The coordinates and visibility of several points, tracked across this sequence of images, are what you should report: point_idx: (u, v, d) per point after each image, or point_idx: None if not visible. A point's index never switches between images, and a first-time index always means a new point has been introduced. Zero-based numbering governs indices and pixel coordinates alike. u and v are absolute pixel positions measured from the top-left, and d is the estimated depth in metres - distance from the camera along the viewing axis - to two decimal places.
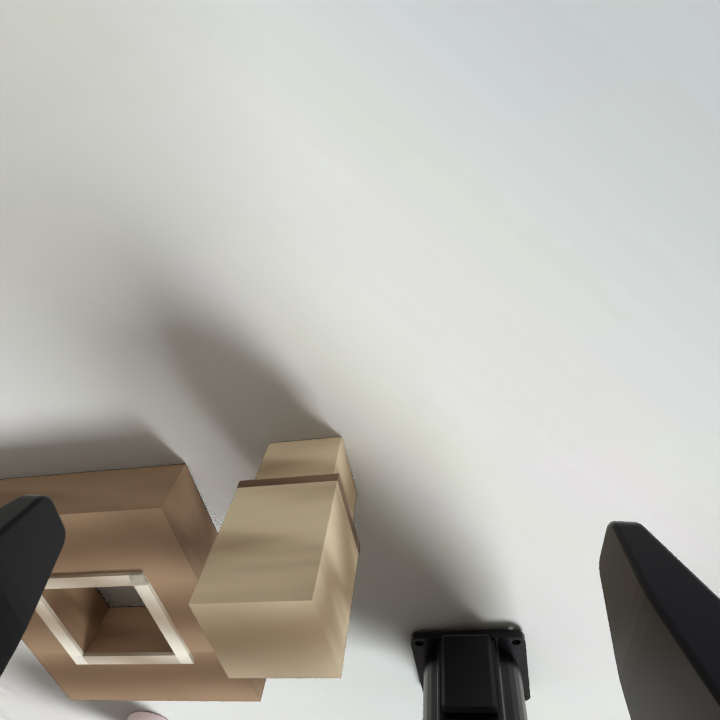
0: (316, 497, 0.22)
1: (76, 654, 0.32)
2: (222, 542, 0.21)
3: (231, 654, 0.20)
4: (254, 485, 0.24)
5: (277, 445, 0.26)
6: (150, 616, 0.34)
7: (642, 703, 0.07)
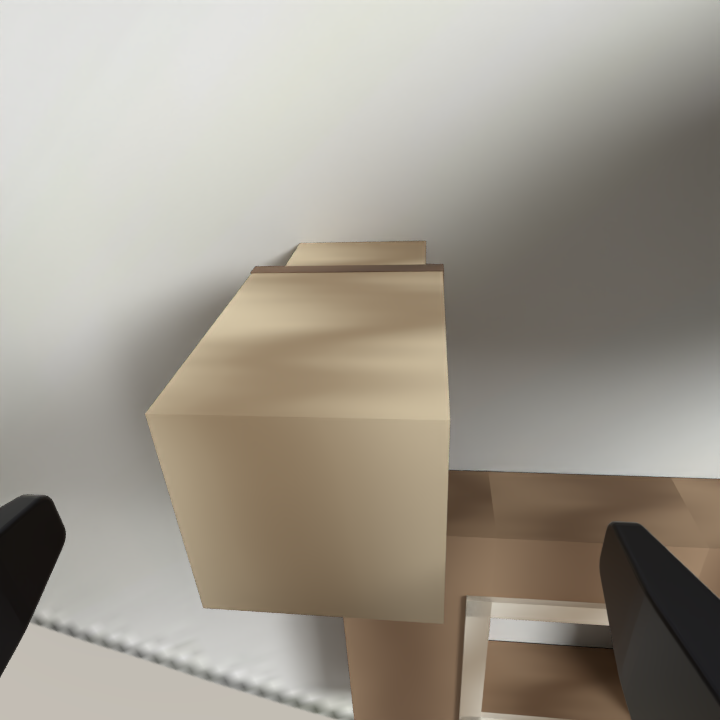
0: None
1: None
2: None
3: (356, 595, 0.10)
4: None
5: None
6: None
7: (642, 703, 0.07)
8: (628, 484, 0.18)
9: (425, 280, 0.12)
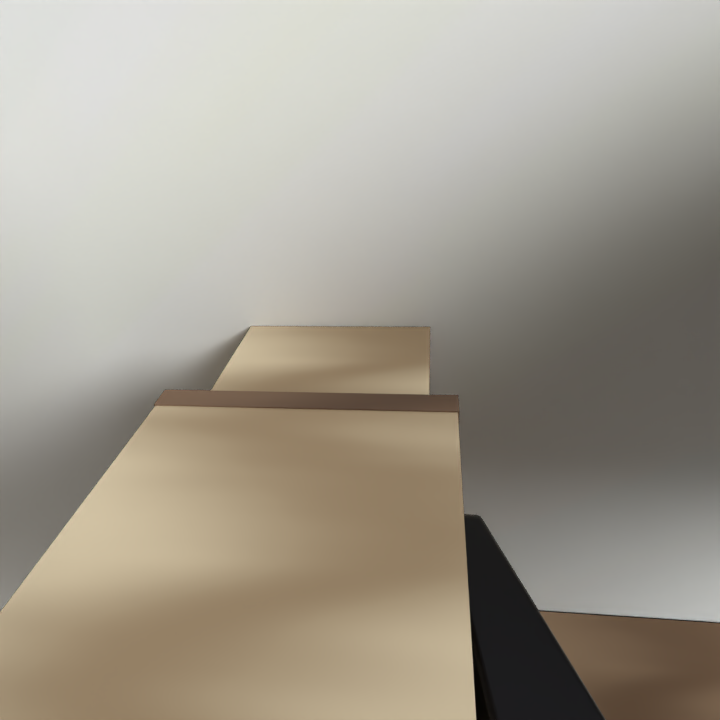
0: None
1: None
2: None
3: None
4: None
5: None
6: None
7: None
8: (701, 636, 0.14)
9: (429, 435, 0.07)
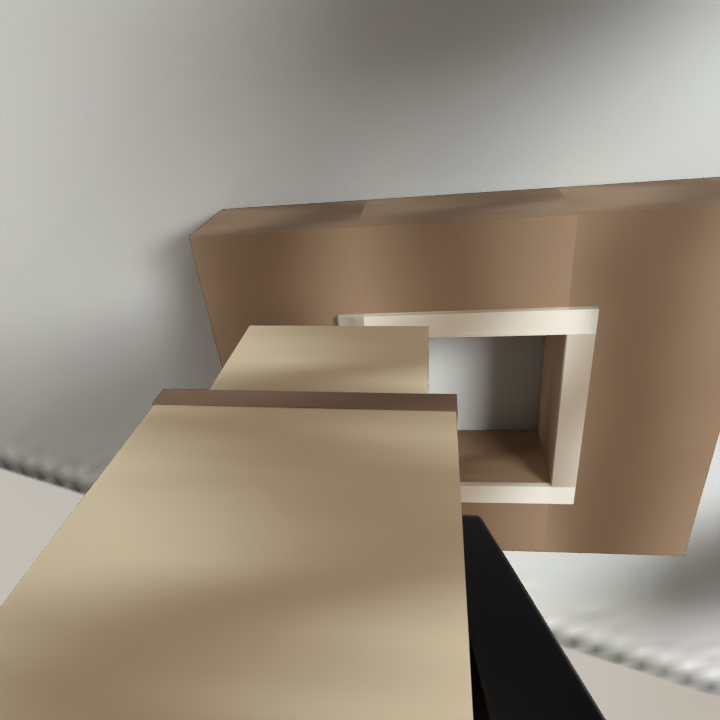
0: None
1: (545, 493, 0.20)
2: None
3: None
4: None
5: None
6: (546, 370, 0.20)
7: None
8: (510, 193, 0.17)
9: (427, 434, 0.07)
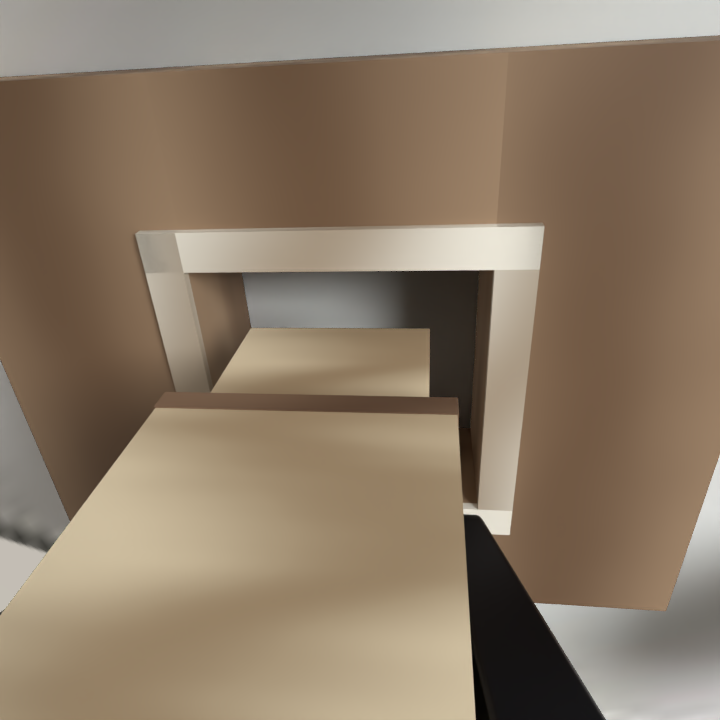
0: None
1: None
2: None
3: None
4: None
5: None
6: (477, 340, 0.14)
7: None
8: (417, 53, 0.11)
9: (429, 438, 0.07)
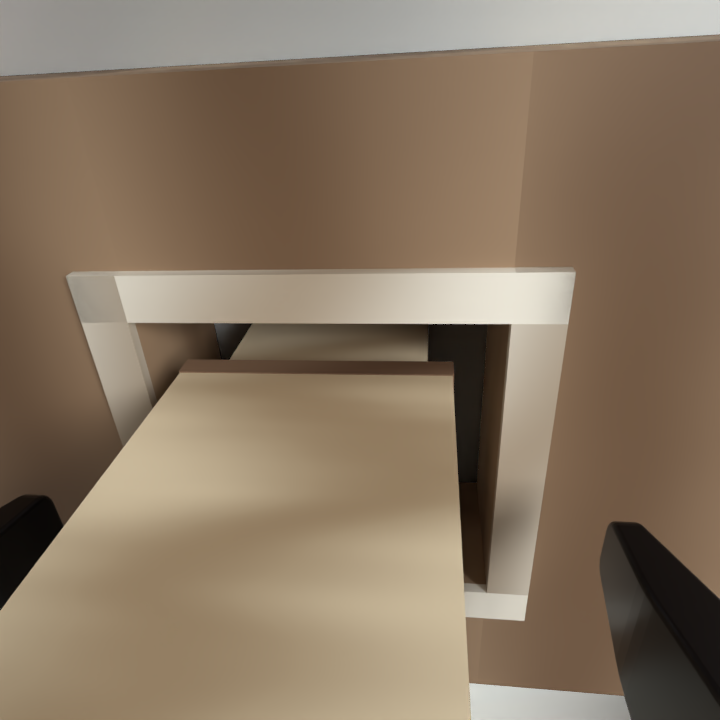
0: None
1: (476, 602, 0.11)
2: None
3: None
4: None
5: None
6: (486, 390, 0.12)
7: (642, 703, 0.07)
8: (415, 53, 0.09)
9: (427, 394, 0.08)
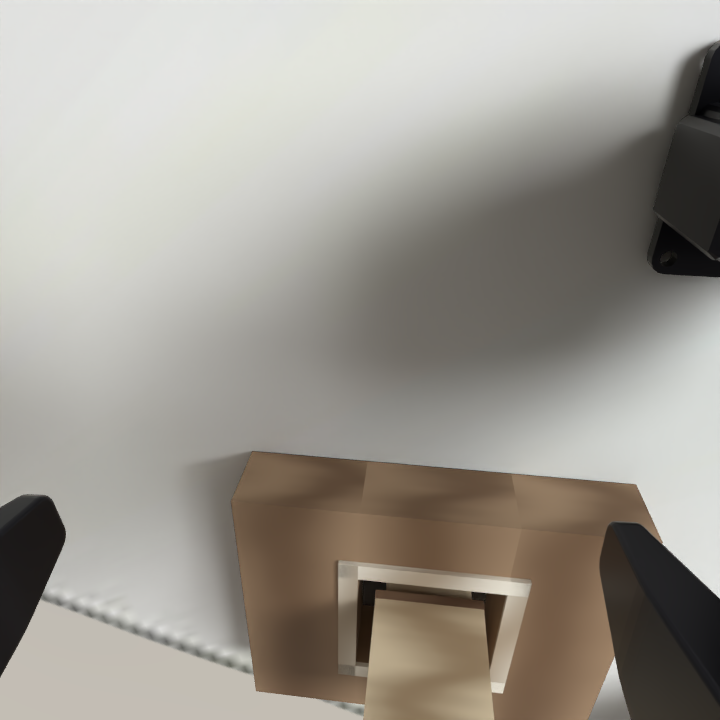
0: None
1: None
2: None
3: None
4: None
5: None
6: None
7: (642, 703, 0.07)
8: (476, 477, 0.23)
9: (475, 620, 0.22)
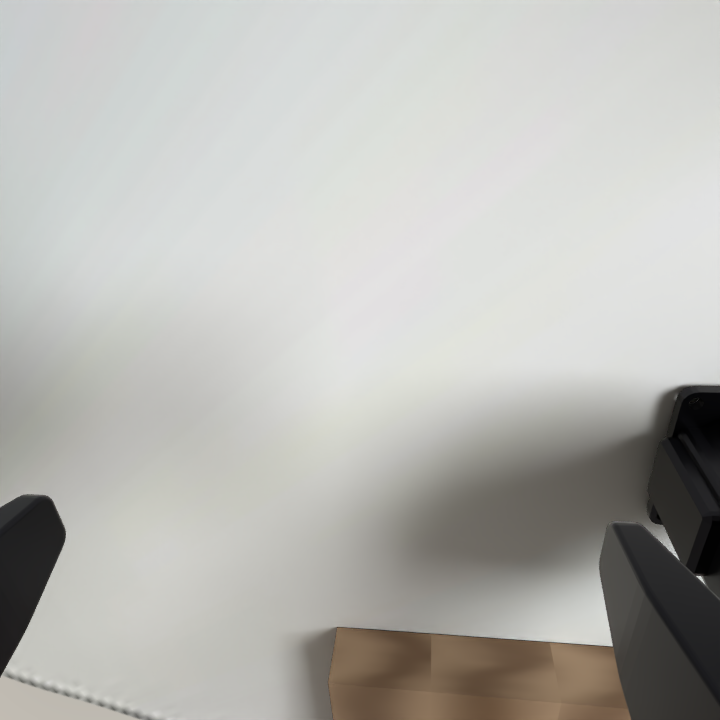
0: None
1: None
2: None
3: None
4: None
5: None
6: None
7: (642, 703, 0.07)
8: (521, 647, 0.28)
9: None
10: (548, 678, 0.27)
